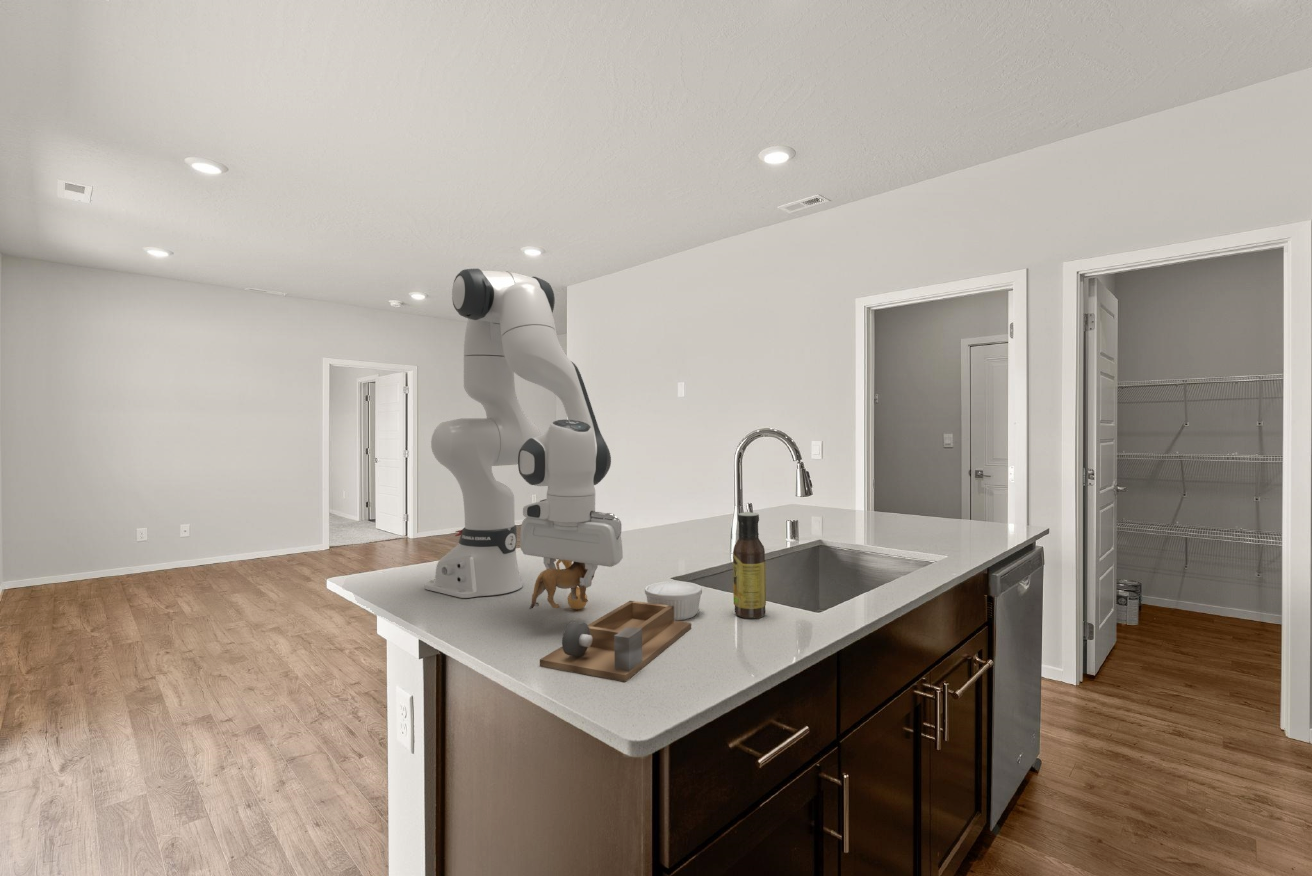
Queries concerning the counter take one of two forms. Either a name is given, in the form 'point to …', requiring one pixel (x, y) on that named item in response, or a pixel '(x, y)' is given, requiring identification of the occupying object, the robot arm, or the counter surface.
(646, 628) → the chassis
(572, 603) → the figurine
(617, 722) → the counter surface
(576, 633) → the wheel
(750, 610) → the sauce bottle
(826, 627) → the counter surface
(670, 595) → the ramekin
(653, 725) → the counter surface
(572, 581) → the lion figurine
